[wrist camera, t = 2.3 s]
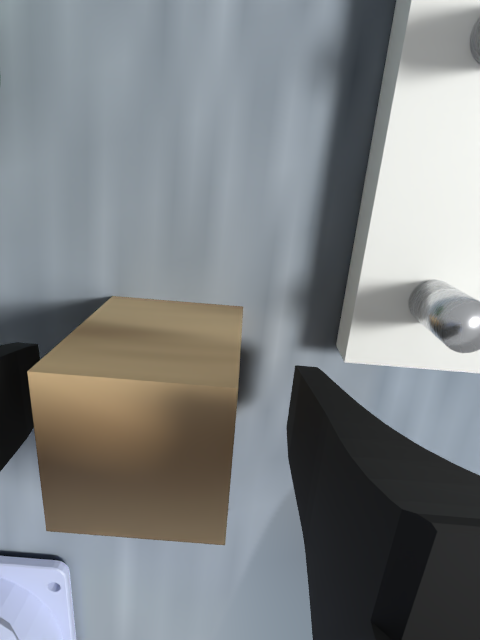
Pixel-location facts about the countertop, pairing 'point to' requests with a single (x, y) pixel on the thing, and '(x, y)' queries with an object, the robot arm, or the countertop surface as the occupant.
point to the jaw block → (140, 421)
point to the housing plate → (421, 200)
